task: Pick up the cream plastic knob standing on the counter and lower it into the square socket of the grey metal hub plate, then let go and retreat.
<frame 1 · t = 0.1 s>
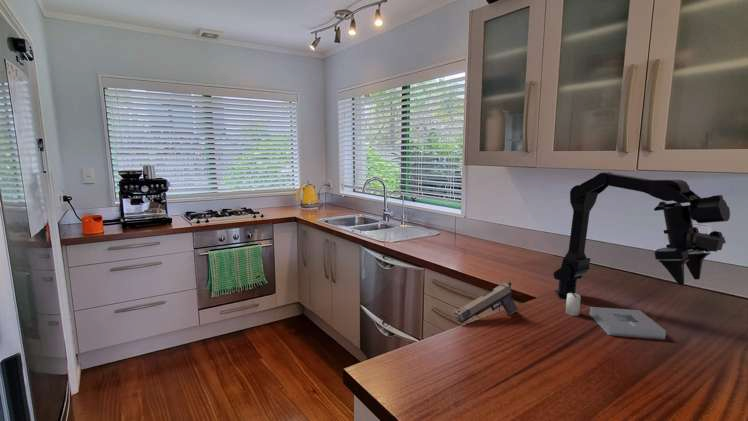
hand: (689, 282, 102), 15 cm above the countertop, tool pointing down, fingers open, 9 cm apart
hub plate: (624, 326, 110), on the countertop
knob: (572, 313, 119), on the countertop
toy gun: (486, 318, 116), on the countertop
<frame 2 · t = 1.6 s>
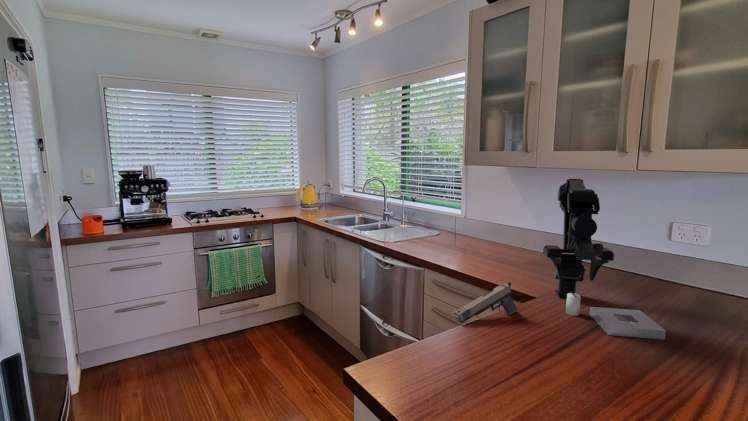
hand: (575, 279, 117), 11 cm above the countertop, tool pointing down, fingers open, 9 cm apart
nothing on the countertop moved.
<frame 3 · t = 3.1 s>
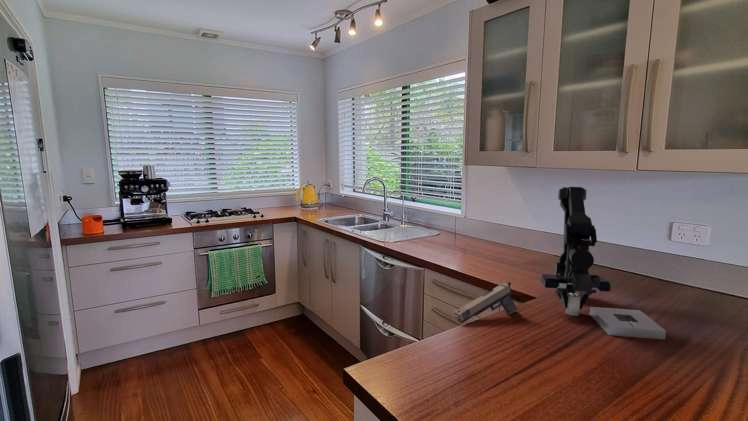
hand: (572, 308, 119), 2 cm above the countertop, tool pointing down, fingers closed on knob, 4 cm apart
knob: (572, 313, 119), on the countertop, touching gripper
everything else where it was.
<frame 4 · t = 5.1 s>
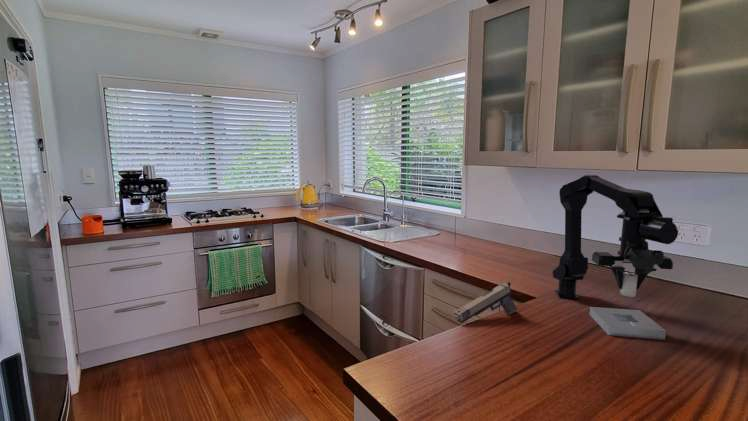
hand: (628, 289, 108), 11 cm above the countertop, tool pointing down, fingers closed on knob, 4 cm apart
knob: (627, 294, 109), point 10 cm above the countertop, touching gripper
everything else where it was.
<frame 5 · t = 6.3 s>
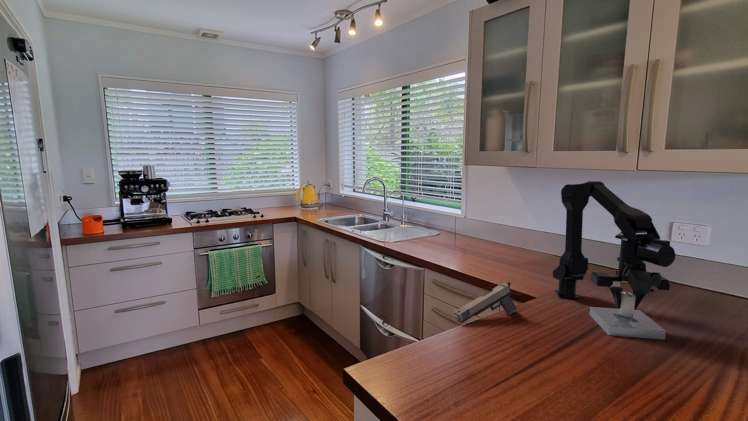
hand: (626, 308, 109), 5 cm above the countertop, tool pointing down, fingers closed on knob, 4 cm apart
knob: (625, 314, 109), point 4 cm above the countertop, touching gripper
everything else where it was.
when the fingers open (3 cm above the countertop, at t = 7.1 s): knob drops 2 cm, resting in hub plate.
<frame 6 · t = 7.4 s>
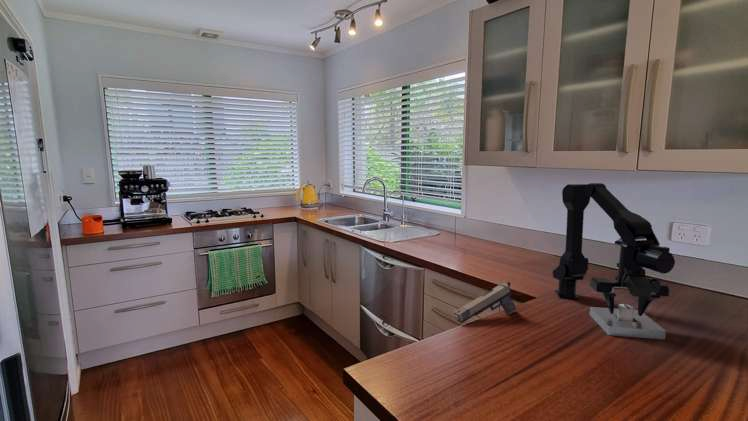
hand: (625, 314, 110), 3 cm above the countertop, tool pointing down, fingers open, 7 cm apart
knob: (624, 326, 110), resting in hub plate
everything else where it was.
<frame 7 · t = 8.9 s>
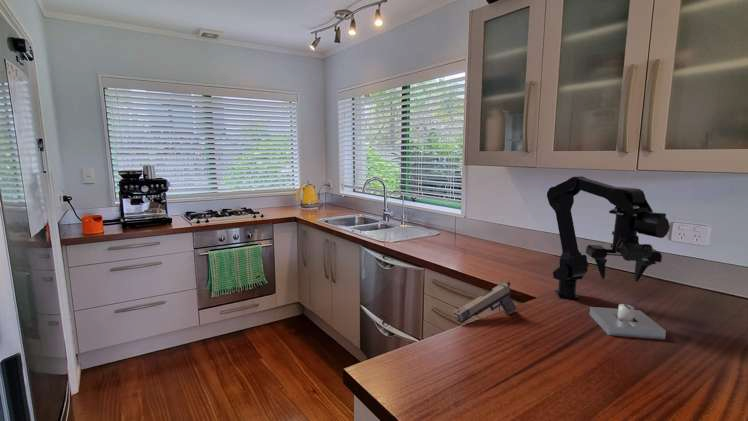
hand: (619, 280, 115), 12 cm above the countertop, tool pointing down, fingers open, 9 cm apart
nothing on the countertop moved.
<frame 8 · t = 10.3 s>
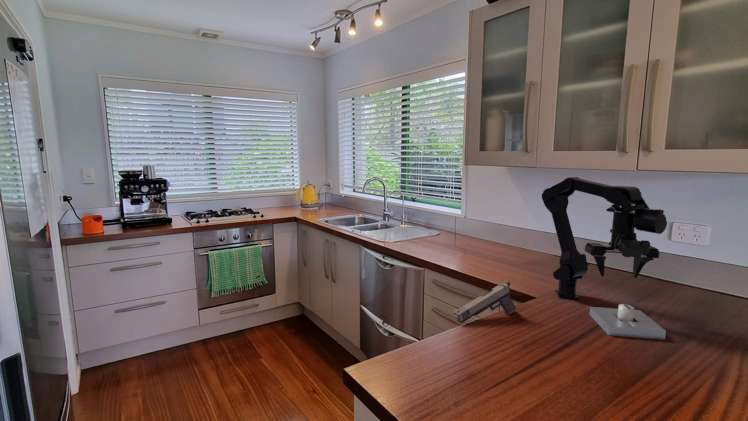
hand: (618, 277, 117), 12 cm above the countertop, tool pointing down, fingers open, 9 cm apart
nothing on the countertop moved.
at the end: knob 0.1 cm off-centre on the hub plate, point 0.0 cm above the hub plate's base; knob tilted 0°; the gripper is holding nothing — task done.
